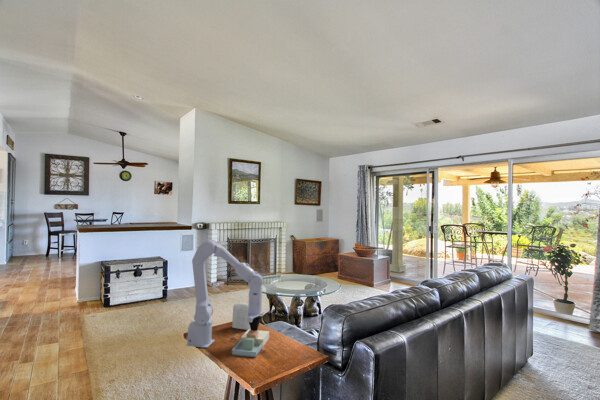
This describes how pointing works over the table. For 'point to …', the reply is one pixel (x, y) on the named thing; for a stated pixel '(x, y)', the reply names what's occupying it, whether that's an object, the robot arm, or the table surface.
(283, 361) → the table surface
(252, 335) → the terracotta tile
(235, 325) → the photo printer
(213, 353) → the table surface
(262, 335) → the cream square block
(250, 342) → the sage tile
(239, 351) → the box
